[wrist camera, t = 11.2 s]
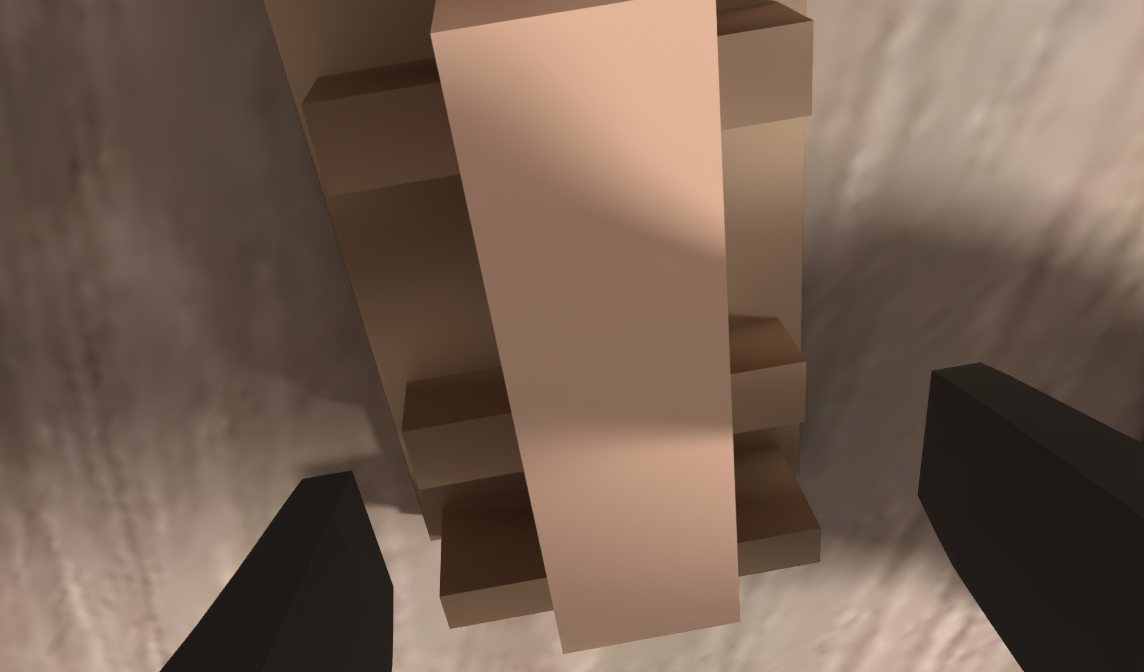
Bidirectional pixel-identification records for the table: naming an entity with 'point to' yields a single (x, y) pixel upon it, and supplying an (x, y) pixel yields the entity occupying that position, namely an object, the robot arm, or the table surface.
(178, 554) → the table surface
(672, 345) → the peach rectangular block
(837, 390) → the table surface
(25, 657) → the table surface
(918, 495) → the robot arm
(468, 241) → the rack
